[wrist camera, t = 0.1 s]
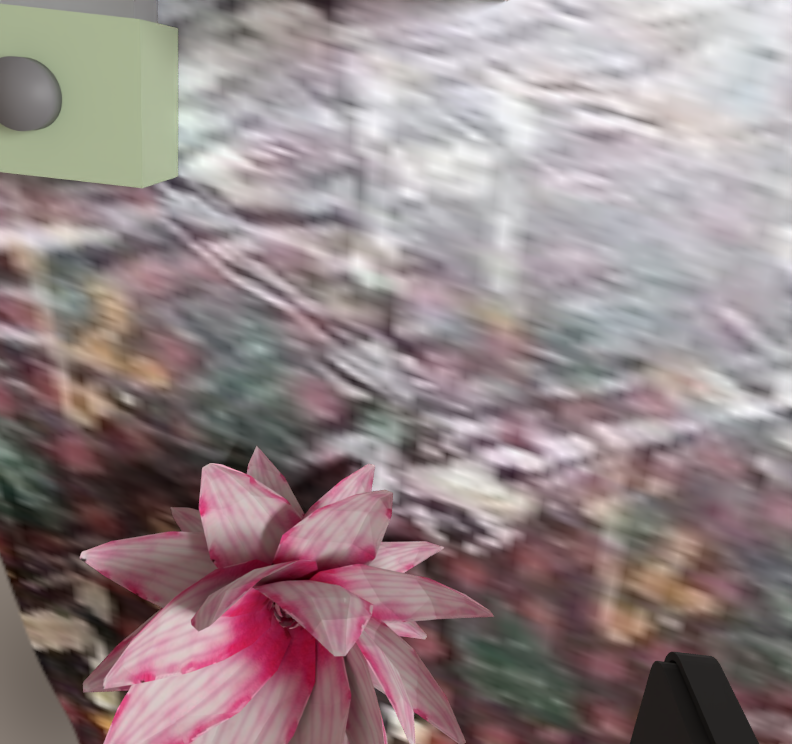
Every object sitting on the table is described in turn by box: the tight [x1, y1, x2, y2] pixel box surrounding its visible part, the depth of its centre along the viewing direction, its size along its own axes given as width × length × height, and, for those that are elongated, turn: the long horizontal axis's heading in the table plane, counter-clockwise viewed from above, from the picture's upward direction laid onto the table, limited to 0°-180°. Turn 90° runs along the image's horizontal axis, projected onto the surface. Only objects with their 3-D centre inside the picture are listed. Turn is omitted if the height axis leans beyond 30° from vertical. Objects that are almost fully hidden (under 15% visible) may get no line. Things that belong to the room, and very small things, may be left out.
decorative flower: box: [80, 446, 494, 744], centre depth 40 cm, size 21×21×15 cm
